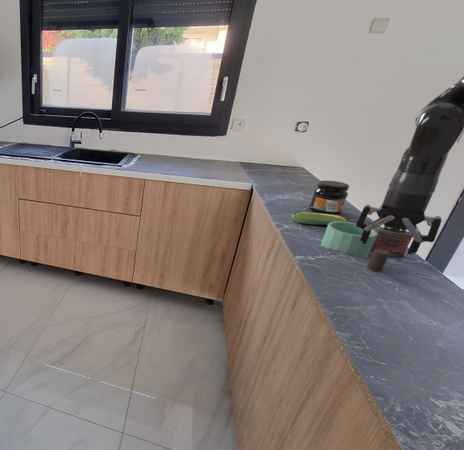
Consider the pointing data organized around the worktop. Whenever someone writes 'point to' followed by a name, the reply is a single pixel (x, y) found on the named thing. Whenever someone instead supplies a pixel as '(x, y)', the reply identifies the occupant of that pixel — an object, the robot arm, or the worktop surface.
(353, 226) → the green faceted pot
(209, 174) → the worktop surface
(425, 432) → the worktop surface
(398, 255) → the lighter
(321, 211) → the supplement container
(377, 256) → the lid
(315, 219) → the edible corn
